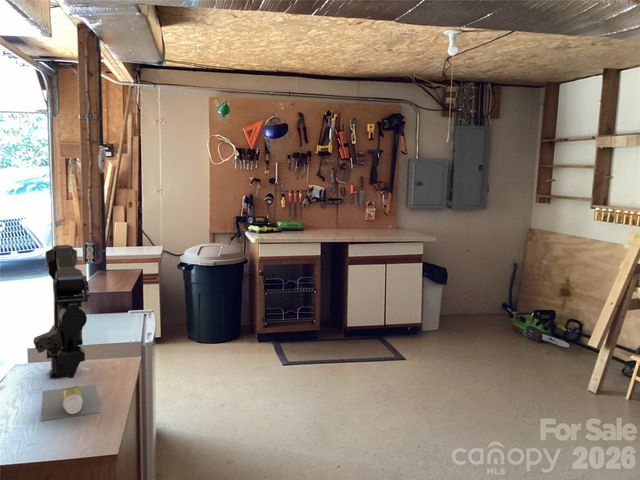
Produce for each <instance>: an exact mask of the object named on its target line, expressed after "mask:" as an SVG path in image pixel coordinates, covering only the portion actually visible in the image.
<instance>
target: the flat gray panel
mask: <svg viewBox="0 0 640 480" xmlns="http://www.w3.org/2000/svg"><path fill="white" fill-rule="evenodd" d="M75 387H76V388H78V389H79V390H80V392H81V396H82V400H83V403H82V408H81V410H80V411H79V412H77V413H75V414H70V413H68V412H67V411H66V410H65V409H64V407H63V401H62V394H63V392H64V390H66V389H67V388H68V387H66V388H57V389H49V390H43V391H42V399H41V418H40V421H41V422H45V421H46V422H47V421H53V420H59V419H60V420H61V419H65V418H66V419H67V418H73V417H80V416H85V415H87V416H88V415H92V414H93V415H94V414H100V413H101V408H100V401H99V398H98V391H97V387H96V384H87V385H80V386H75Z"/></svg>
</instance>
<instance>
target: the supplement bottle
mask: <svg viewBox="0 0 640 480" xmlns="http://www.w3.org/2000/svg"><path fill="white" fill-rule="evenodd" d="M76 387H77V386H70V387H66V388H67V389H66V390H64V392H63V394H62V401H63V407H64V409H65V410H66V411H67V412H68V413H70V414H75V413H77V412H79V411H80V410H81V408H82V403H83V400H82V396H81V392H80V390H79V389H78V388H76Z"/></svg>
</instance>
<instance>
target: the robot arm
mask: <svg viewBox="0 0 640 480" xmlns="http://www.w3.org/2000/svg"><path fill="white" fill-rule="evenodd" d="M44 256H45V257H44V264H45V265H44V266H45V268H47V272H48V274H49V276H50V277H51V279H52V291H53V325H52V327H51V328H50V329H49V331H48V332H45V333H42V334H40V335H38V336H36V337H34V338H33V343H32V344H34V348H35V349H36V351H37V353H38V354H41V353H43V352H45V356H46V359H48V360H49V359H50V365H51V366H50V370H49V378H50V379H55V378H65V377H68V379H74V377H75V375H76V372H77V370H78V368H79V365H80V363H83V362H85V361H86V353H85V352H86V351H85V349H84V348H83V347H81V346H83V343H84V342H83V328H84V327H85V325H86V323H87V321H88V318H87V315H86V312H85V310H84V308H83V304H82V303H84V302H89V298H90V287H89V281H88V280H87V277H86V276H84V274H83V271H82V270H80V269H78V268H76V267H77V264H78V251H77V250H76V249H74V247H73V246H72V245H70V244H57V245H54V246H53V248H51V249H49V250H46V251H45V254H44Z"/></svg>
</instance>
